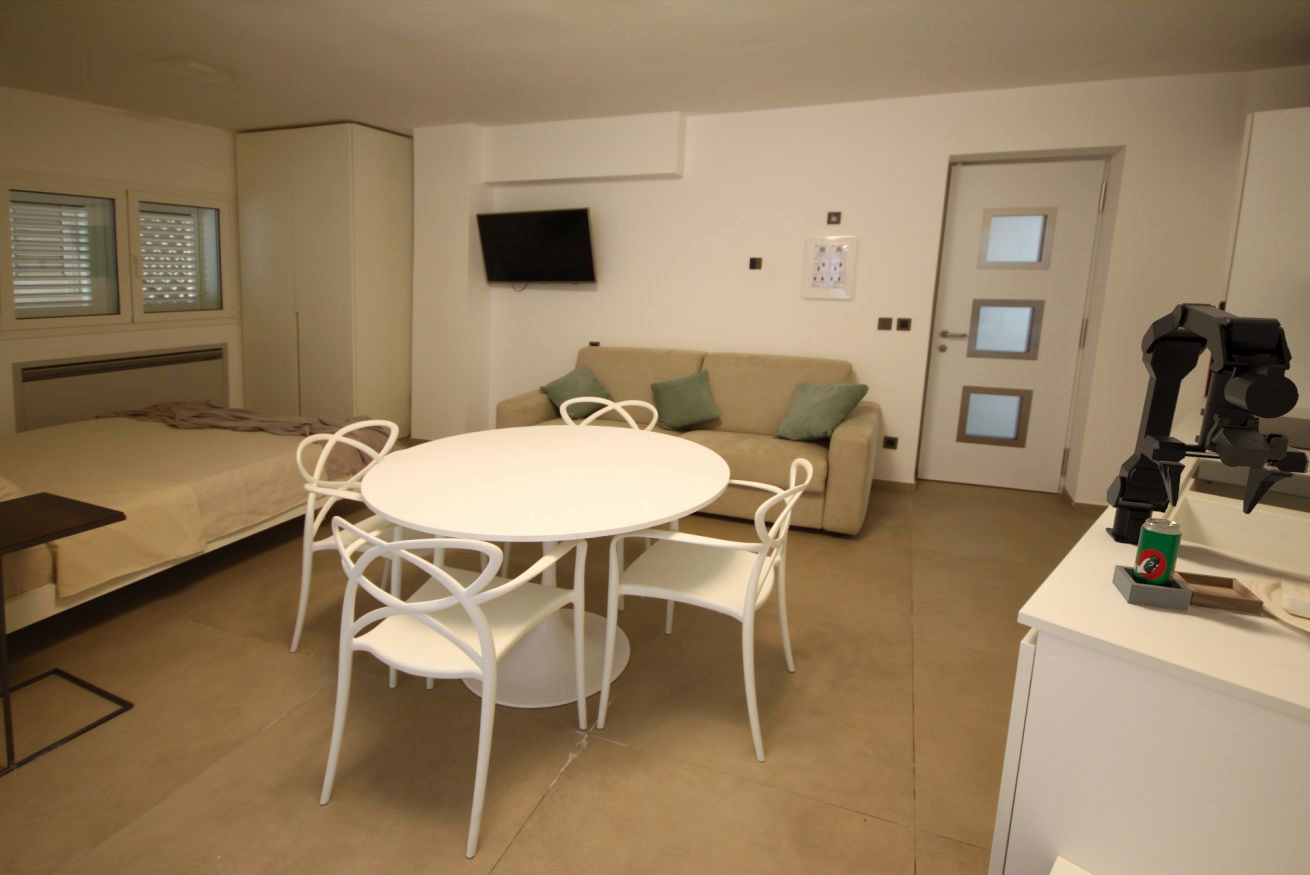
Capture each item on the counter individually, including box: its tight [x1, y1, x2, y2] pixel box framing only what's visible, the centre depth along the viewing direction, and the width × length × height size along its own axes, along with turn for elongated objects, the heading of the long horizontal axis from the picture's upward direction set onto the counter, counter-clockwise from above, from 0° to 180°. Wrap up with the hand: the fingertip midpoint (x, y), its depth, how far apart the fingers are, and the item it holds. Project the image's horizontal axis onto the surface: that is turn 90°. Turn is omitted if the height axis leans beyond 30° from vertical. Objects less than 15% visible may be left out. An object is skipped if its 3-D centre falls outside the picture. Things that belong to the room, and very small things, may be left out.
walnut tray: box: [1174, 570, 1265, 615], centre depth 110 cm, size 9×9×2 cm
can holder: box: [1111, 564, 1192, 612], centre depth 110 cm, size 8×8×3 cm
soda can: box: [1132, 517, 1183, 588], centre depth 108 cm, size 5×5×12 cm
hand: (1209, 509), depth 105 cm, fingers open, 9 cm apart
